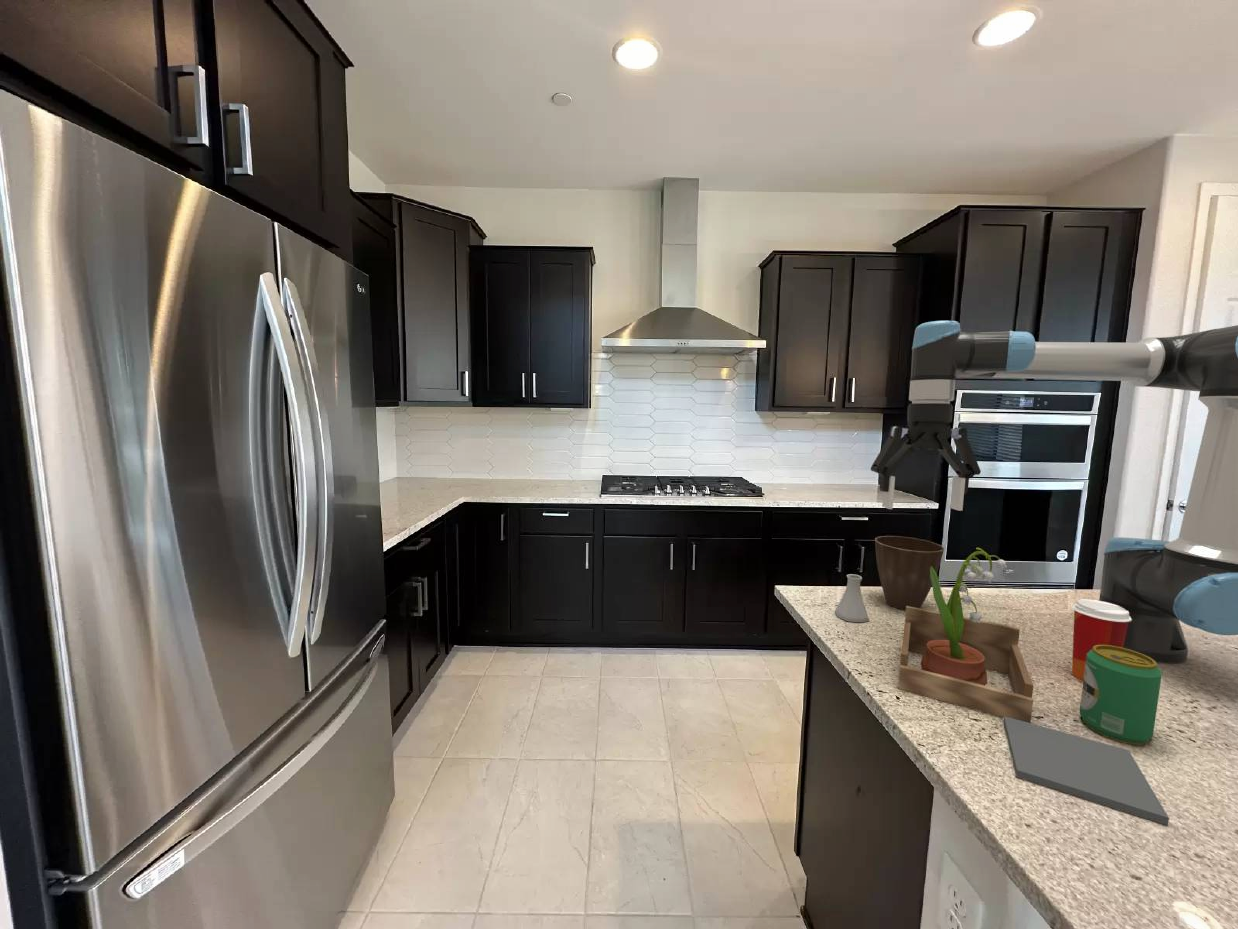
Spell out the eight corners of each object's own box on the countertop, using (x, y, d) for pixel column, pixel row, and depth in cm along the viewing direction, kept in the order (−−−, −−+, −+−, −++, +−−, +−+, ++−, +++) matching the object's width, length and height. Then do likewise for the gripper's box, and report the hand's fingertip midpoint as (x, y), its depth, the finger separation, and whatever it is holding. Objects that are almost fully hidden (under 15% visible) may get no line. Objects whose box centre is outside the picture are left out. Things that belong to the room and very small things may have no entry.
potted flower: (975, 669, 93) (988, 540, 90) (1012, 699, 83) (1028, 556, 81) (909, 664, 94) (920, 537, 92) (937, 694, 84) (951, 552, 82)
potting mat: (1127, 756, 70) (1128, 750, 70) (1167, 825, 58) (1168, 818, 58) (1003, 722, 77) (1003, 716, 77) (1016, 777, 65) (1017, 770, 65)
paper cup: (1106, 672, 93) (1115, 601, 91) (1133, 694, 85) (1143, 617, 84) (1055, 665, 95) (1063, 595, 94) (1077, 685, 88) (1086, 610, 86)
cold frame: (1013, 674, 92) (1018, 627, 91) (1030, 724, 76) (1036, 670, 75) (902, 647, 101) (906, 605, 100) (897, 688, 86) (902, 639, 85)
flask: (829, 611, 119) (831, 571, 118) (857, 610, 120) (860, 571, 119) (845, 624, 112) (848, 581, 111) (875, 623, 113) (878, 581, 112)
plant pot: (881, 589, 135) (886, 532, 133) (945, 605, 124) (950, 544, 123) (861, 603, 124) (866, 542, 123) (929, 622, 114) (935, 555, 112)
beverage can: (1072, 707, 81) (1080, 638, 80) (1139, 724, 77) (1149, 651, 76) (1087, 734, 74) (1097, 659, 73) (1162, 754, 70) (1173, 674, 69)
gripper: (982, 404, 100) (972, 506, 102) (857, 402, 101) (850, 503, 103) (1009, 403, 93) (998, 513, 95) (875, 401, 94) (867, 510, 96)
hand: (921, 508), depth 99 cm, fingers open, 13 cm apart
